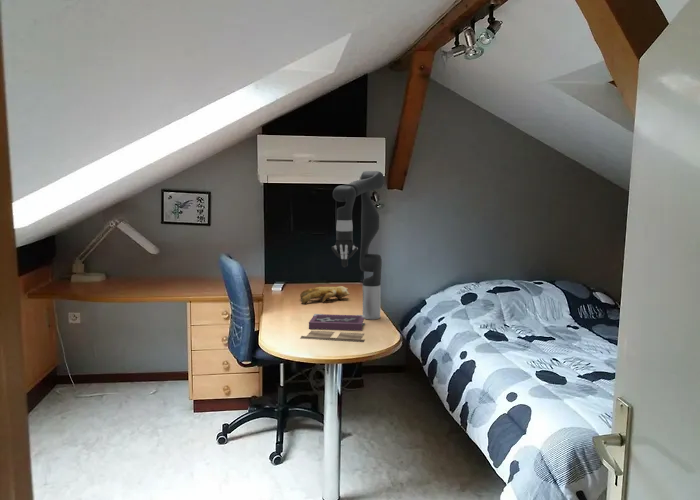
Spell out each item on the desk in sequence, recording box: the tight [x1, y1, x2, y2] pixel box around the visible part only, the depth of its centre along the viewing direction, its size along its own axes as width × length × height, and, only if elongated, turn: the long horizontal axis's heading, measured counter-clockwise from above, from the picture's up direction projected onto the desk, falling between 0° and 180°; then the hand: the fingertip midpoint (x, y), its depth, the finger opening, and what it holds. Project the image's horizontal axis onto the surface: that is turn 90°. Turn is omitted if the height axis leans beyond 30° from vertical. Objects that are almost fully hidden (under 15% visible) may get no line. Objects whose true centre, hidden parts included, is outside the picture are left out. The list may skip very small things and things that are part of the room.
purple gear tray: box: [308, 313, 366, 331], centre depth 264 cm, size 25×16×5 cm, turn 83°
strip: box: [299, 335, 365, 343], centre depth 241 cm, size 3×29×2 cm, turn 78°
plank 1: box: [306, 329, 335, 338], centre depth 248 cm, size 9×11×1 cm
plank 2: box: [336, 331, 365, 339], centre depth 245 cm, size 9×11×1 cm
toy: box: [300, 285, 350, 305], centre depth 322 cm, size 14×9×30 cm
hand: (344, 266), depth 253 cm, fingers closed
